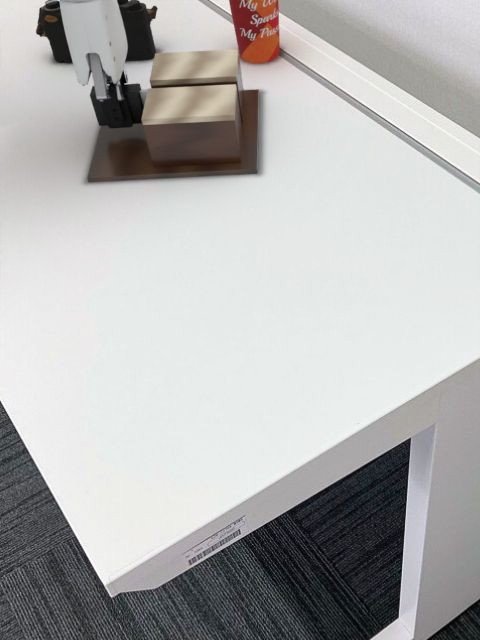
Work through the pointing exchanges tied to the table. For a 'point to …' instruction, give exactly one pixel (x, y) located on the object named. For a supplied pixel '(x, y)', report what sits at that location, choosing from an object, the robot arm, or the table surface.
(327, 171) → the table surface
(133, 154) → the blocks on base plate
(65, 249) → the table surface
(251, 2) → the coffee cup
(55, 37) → the film camera
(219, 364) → the table surface
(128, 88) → the knife
